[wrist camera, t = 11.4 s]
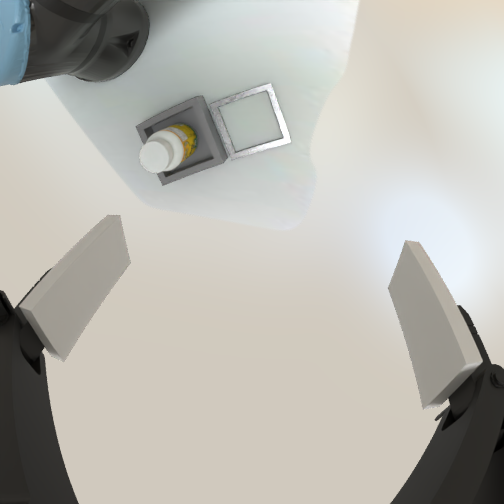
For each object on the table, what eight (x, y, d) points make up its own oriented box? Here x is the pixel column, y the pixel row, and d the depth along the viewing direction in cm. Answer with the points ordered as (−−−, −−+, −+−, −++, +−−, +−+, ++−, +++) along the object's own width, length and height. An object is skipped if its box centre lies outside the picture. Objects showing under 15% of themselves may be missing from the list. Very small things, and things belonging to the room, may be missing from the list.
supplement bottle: (179, 115, 35) (149, 125, 27) (206, 138, 37) (183, 154, 29) (158, 142, 38) (126, 160, 30) (184, 164, 39) (158, 187, 31)
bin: (145, 123, 36) (135, 126, 34) (202, 95, 34) (196, 96, 31) (170, 178, 41) (162, 185, 39) (227, 157, 38) (223, 163, 36)
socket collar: (210, 104, 34) (209, 104, 34) (271, 83, 32) (270, 83, 31) (232, 158, 39) (231, 160, 38) (291, 141, 36) (291, 142, 35)
